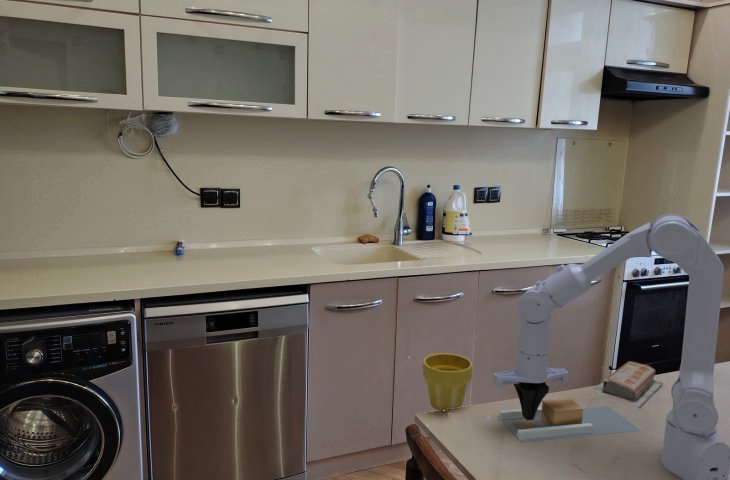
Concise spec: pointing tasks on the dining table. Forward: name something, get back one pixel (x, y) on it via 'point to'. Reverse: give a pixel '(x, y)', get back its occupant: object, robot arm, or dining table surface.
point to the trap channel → (592, 424)
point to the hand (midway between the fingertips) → (527, 417)
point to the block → (561, 412)
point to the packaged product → (630, 383)
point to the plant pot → (447, 379)
